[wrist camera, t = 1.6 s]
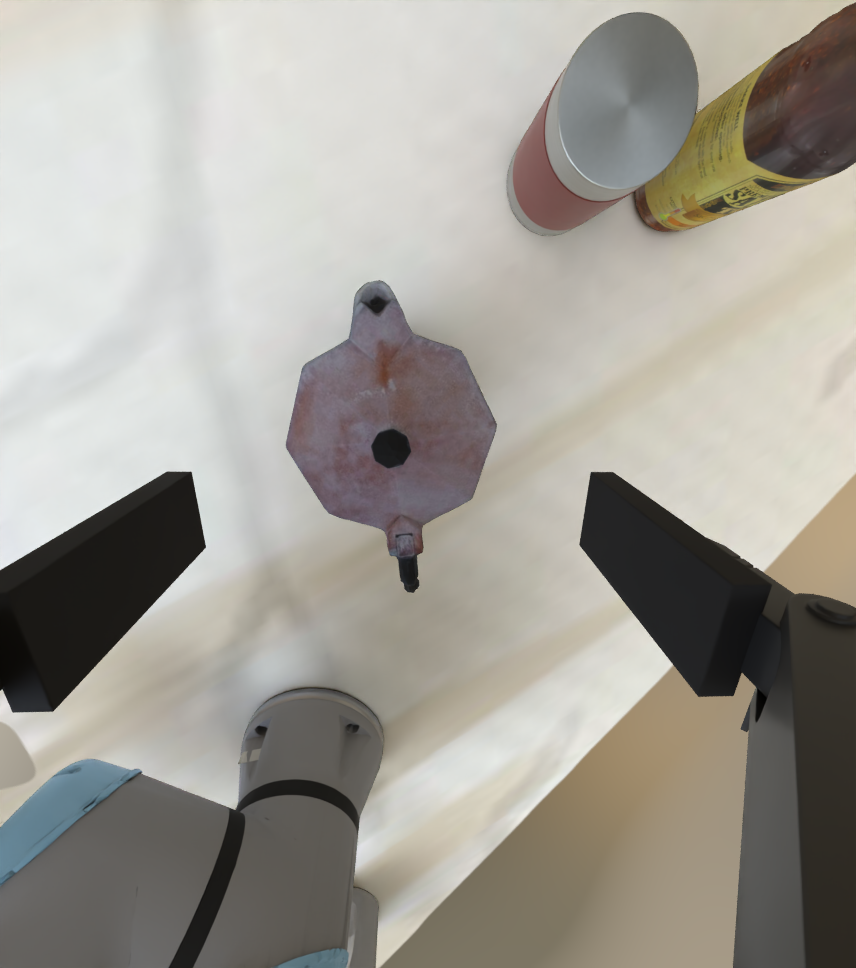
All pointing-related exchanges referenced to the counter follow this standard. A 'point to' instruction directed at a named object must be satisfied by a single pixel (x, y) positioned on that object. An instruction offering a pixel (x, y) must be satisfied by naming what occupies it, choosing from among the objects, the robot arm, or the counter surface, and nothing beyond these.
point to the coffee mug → (362, 930)
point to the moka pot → (390, 427)
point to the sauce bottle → (765, 133)
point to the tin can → (605, 124)
